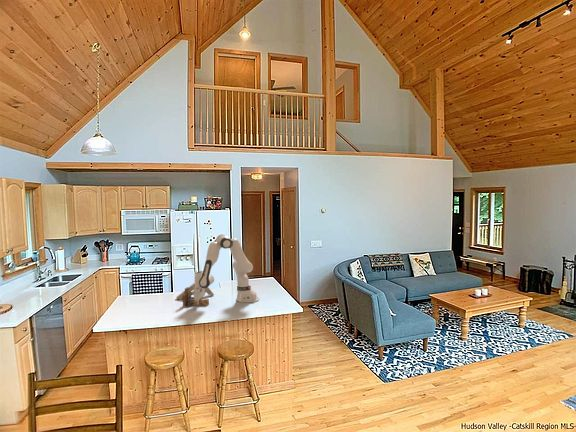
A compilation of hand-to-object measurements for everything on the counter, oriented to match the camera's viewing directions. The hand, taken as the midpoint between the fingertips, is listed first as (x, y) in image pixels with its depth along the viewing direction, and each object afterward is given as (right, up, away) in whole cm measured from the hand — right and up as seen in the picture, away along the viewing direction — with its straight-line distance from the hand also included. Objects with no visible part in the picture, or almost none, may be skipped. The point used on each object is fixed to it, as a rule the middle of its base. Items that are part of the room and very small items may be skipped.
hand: (200, 302), depth 314 cm
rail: (0, -2, 0) cm, 2 cm away
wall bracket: (-11, -1, +24) cm, 27 cm away
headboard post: (-11, -2, +1) cm, 11 cm away
